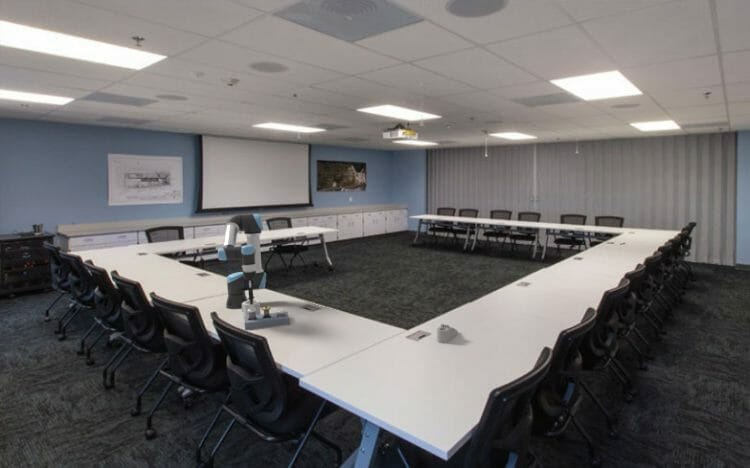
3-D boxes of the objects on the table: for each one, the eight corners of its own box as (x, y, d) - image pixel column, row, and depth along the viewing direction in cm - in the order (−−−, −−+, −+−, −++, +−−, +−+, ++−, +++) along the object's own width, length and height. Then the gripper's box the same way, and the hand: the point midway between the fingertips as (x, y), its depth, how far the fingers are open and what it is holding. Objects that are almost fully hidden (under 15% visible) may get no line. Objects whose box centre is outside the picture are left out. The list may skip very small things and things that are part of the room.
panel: (245, 322, 258) (245, 316, 258) (287, 317, 266) (287, 311, 265) (245, 329, 245) (244, 323, 245) (289, 324, 252) (289, 318, 252)
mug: (264, 315, 272) (263, 300, 271) (252, 320, 262) (251, 304, 261) (248, 312, 277) (247, 298, 276) (236, 317, 268) (235, 302, 267)
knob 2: (276, 319, 259) (276, 310, 259) (285, 318, 261) (284, 309, 260) (277, 322, 255) (276, 312, 254) (285, 321, 256) (285, 311, 255)
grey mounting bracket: (458, 333, 231) (458, 319, 230) (445, 344, 216) (445, 329, 215) (449, 331, 234) (449, 317, 233) (435, 342, 219) (435, 327, 218)
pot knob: (262, 316, 257) (261, 306, 256) (270, 315, 258) (270, 305, 257) (262, 318, 252) (262, 308, 251) (271, 317, 253) (270, 307, 252)
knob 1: (248, 318, 254) (247, 308, 254) (256, 317, 256) (256, 307, 255) (248, 321, 250) (247, 311, 249) (256, 320, 251) (256, 310, 250)
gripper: (243, 269, 254) (245, 306, 257) (242, 273, 242) (245, 312, 244) (255, 268, 256) (258, 305, 259) (256, 272, 244) (258, 311, 247)
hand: (251, 309), depth 252 cm, fingers closed
